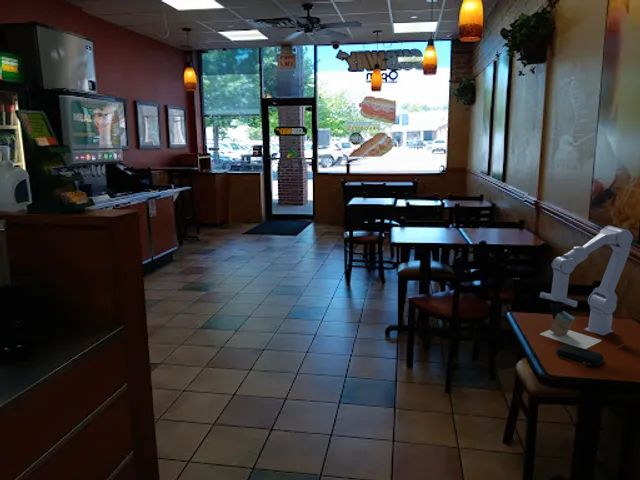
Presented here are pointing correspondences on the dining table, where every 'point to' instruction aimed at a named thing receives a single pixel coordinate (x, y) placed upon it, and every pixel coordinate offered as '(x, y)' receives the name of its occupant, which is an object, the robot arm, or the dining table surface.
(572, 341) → the mat
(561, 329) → the teal and wood block
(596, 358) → the carrying case or bag
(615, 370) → the dining table surface
